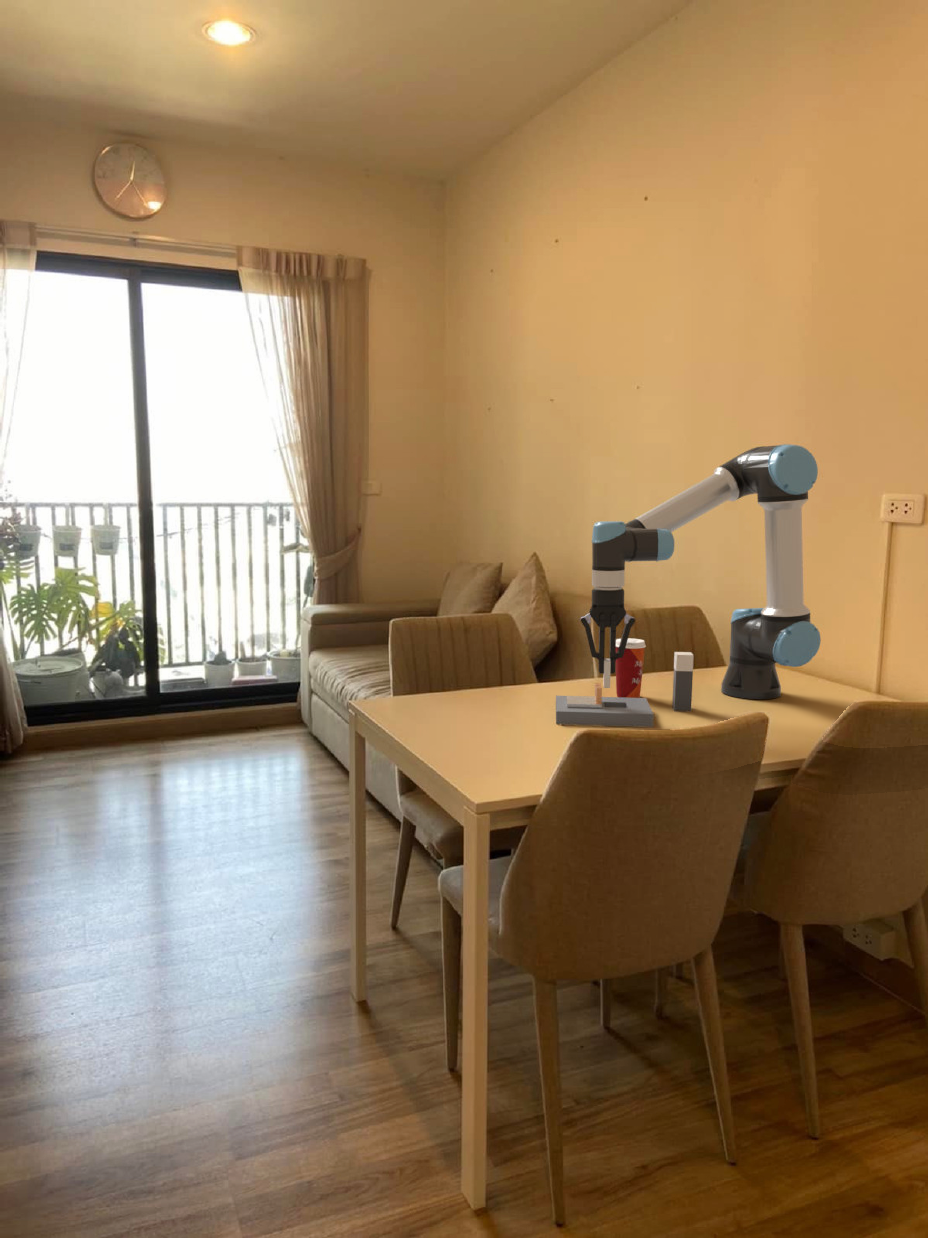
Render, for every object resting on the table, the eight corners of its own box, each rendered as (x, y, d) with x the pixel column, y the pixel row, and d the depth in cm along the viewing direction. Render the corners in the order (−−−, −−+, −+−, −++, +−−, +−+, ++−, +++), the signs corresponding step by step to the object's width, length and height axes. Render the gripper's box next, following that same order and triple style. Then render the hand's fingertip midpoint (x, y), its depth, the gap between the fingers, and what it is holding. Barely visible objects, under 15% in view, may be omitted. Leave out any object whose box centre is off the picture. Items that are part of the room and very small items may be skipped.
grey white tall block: (688, 707, 222) (691, 652, 220) (691, 711, 218) (693, 655, 216) (672, 707, 222) (674, 651, 220) (674, 710, 218) (676, 654, 216)
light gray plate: (599, 700, 216) (600, 682, 215) (601, 708, 208) (602, 689, 207) (566, 699, 216) (566, 681, 216) (567, 707, 209) (567, 688, 208)
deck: (645, 710, 219) (645, 698, 219) (653, 727, 203) (653, 714, 203) (555, 707, 221) (555, 695, 221) (556, 723, 205) (556, 711, 205)
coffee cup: (644, 701, 228) (646, 643, 226) (611, 699, 230) (613, 642, 228) (644, 694, 236) (646, 638, 234) (612, 692, 238) (614, 637, 236)
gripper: (634, 586, 211) (633, 683, 214) (579, 586, 212) (578, 682, 216) (637, 589, 203) (636, 690, 207) (580, 589, 205) (579, 689, 208)
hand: (606, 686), depth 211 cm, fingers closed
